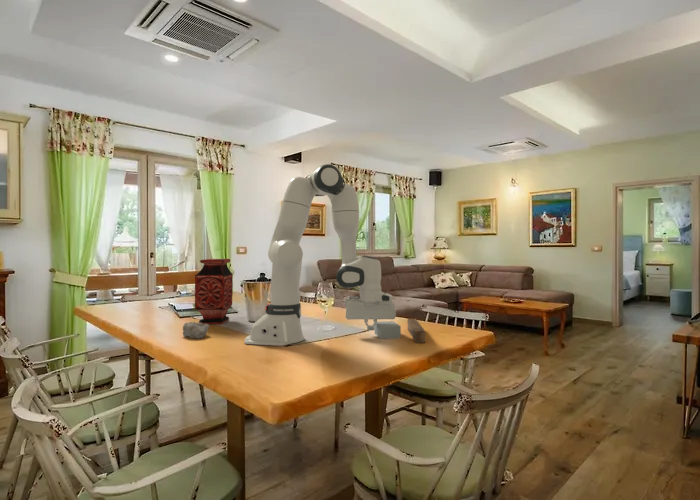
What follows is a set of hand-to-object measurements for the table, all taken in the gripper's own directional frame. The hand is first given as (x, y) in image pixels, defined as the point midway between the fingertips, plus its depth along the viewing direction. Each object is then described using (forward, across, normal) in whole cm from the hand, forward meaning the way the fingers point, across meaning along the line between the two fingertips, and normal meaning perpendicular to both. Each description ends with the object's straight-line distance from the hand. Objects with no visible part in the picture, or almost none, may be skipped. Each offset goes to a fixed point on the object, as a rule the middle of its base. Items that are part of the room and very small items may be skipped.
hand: (370, 330), depth 163 cm
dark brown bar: (+2, +18, 0) cm, 18 cm away
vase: (+2, -73, +28) cm, 79 cm away
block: (+2, +7, 0) cm, 7 cm away
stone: (+2, -71, -1) cm, 71 cm away
